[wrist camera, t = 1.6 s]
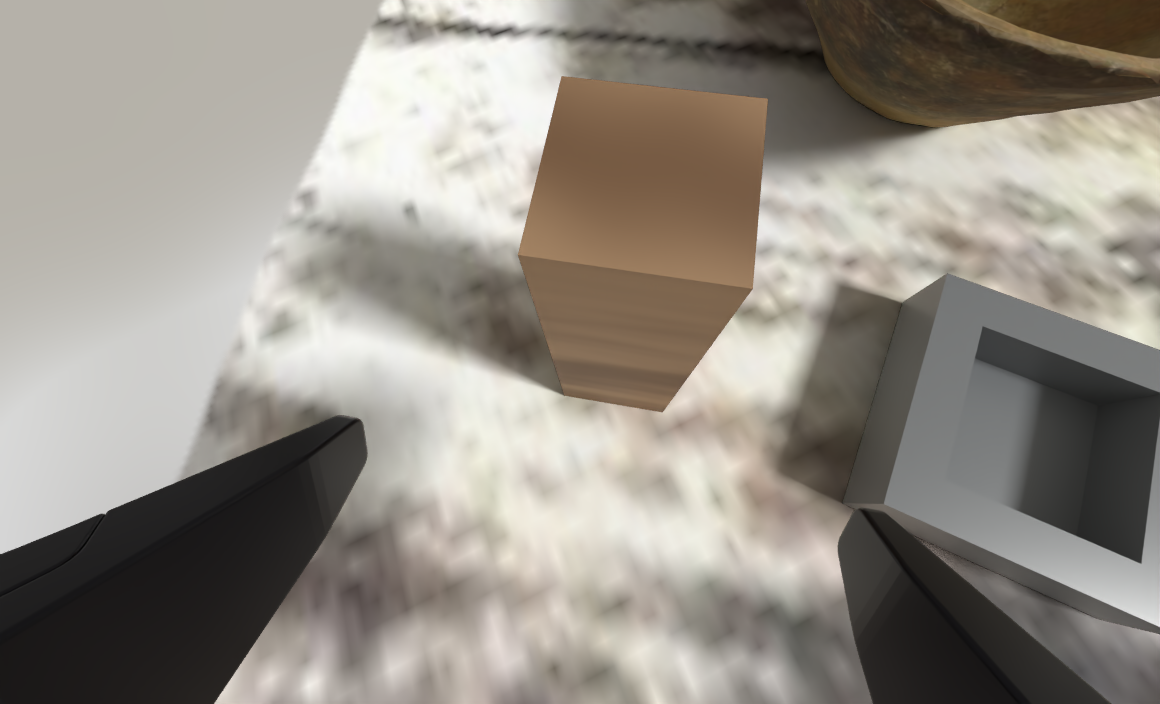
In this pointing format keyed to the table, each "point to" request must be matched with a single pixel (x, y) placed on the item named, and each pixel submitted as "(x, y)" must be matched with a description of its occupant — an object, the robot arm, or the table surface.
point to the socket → (1021, 447)
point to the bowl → (989, 55)
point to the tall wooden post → (641, 233)
